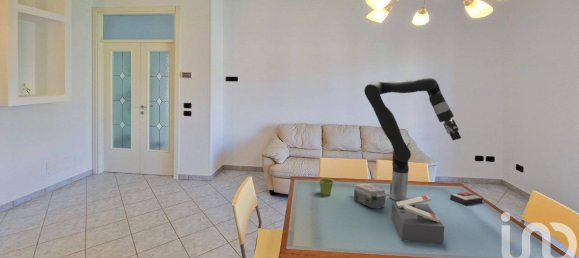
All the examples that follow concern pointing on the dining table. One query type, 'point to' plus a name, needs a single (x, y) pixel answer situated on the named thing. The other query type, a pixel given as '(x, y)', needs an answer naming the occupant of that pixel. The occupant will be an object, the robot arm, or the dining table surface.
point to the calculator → (466, 198)
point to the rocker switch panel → (417, 225)
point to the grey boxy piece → (370, 195)
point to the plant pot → (326, 186)
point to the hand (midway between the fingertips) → (457, 139)
